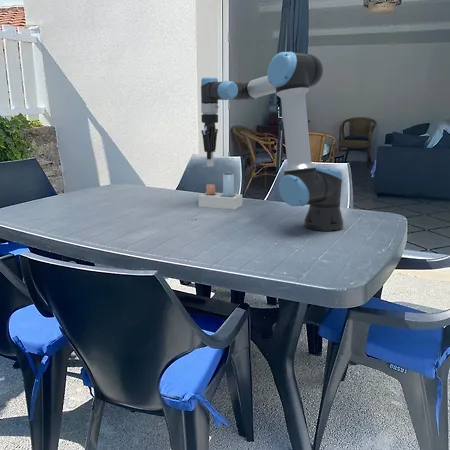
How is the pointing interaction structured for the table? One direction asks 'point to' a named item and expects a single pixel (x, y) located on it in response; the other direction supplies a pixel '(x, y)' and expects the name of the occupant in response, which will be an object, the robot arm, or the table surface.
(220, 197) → the housing
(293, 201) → the robot arm
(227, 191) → the cartridge
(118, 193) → the table surface
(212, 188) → the plunger
